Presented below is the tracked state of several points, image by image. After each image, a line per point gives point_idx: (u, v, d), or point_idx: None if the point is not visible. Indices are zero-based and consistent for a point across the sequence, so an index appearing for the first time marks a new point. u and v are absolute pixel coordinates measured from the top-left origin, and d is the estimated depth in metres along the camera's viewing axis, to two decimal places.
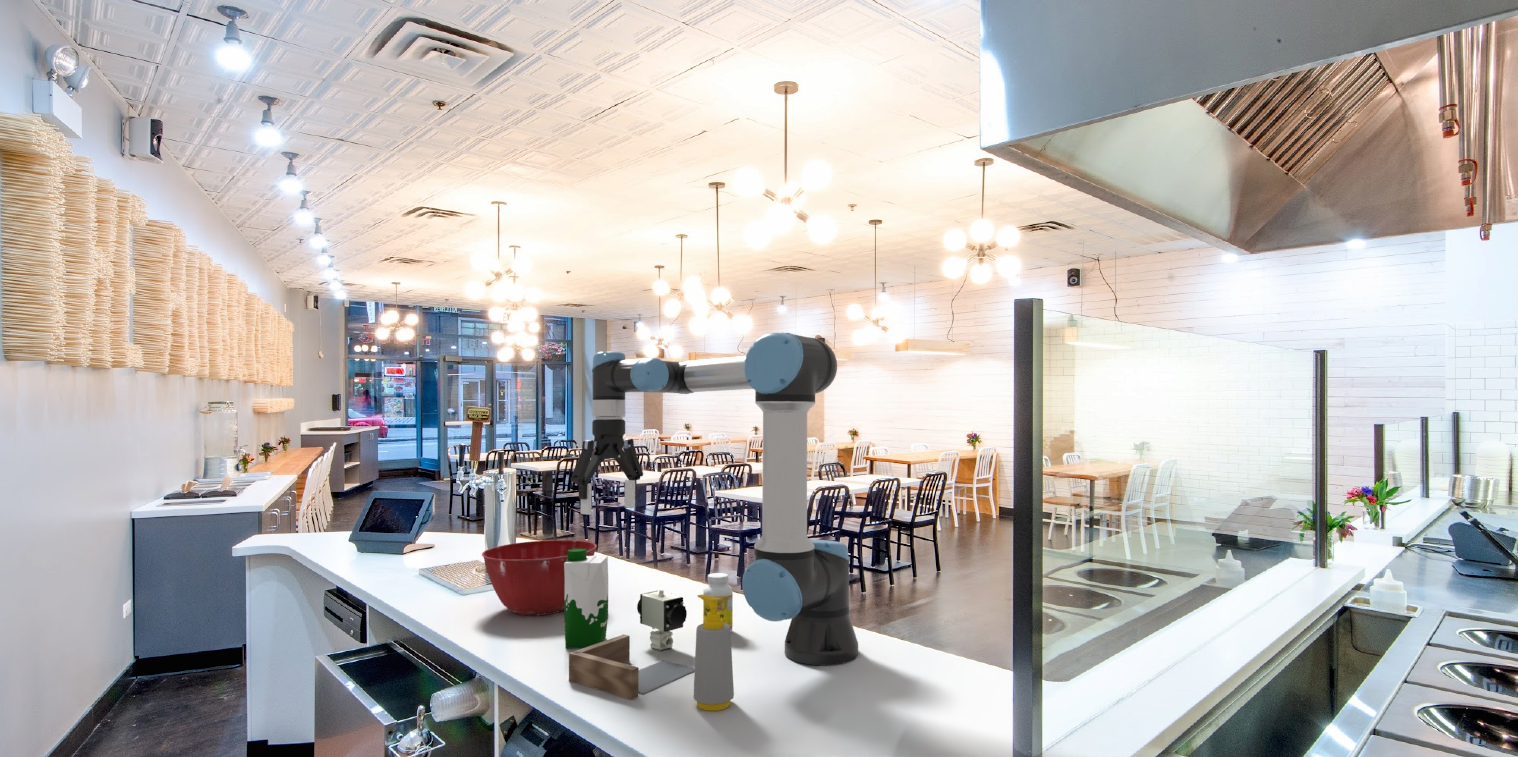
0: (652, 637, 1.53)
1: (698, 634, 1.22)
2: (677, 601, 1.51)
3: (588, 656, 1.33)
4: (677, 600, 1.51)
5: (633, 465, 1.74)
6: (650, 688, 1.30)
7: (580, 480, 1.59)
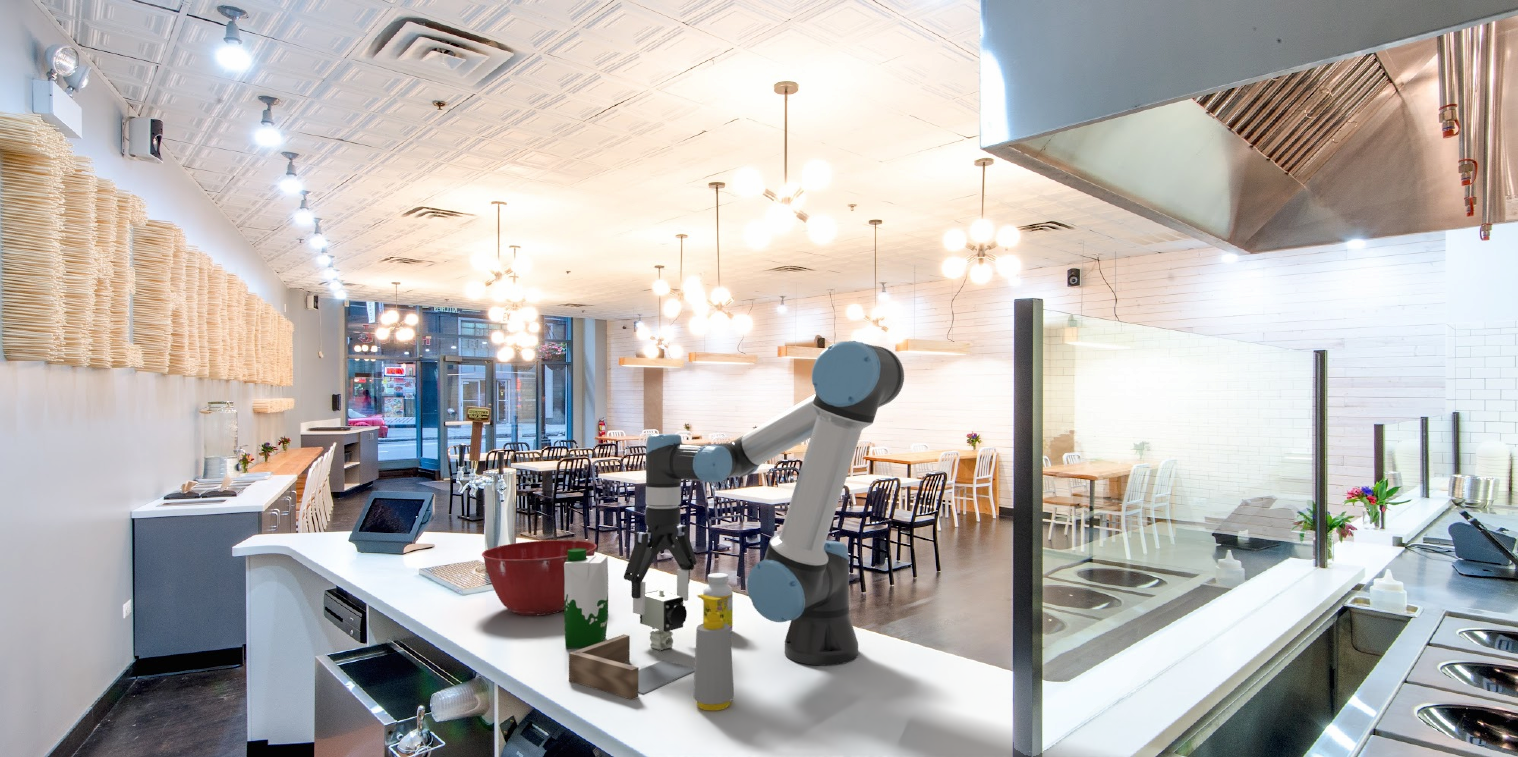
0: (652, 637, 1.53)
1: (698, 634, 1.22)
2: (677, 601, 1.51)
3: (588, 656, 1.33)
4: (677, 600, 1.51)
5: (686, 553, 1.61)
6: (650, 688, 1.30)
7: (634, 578, 1.46)
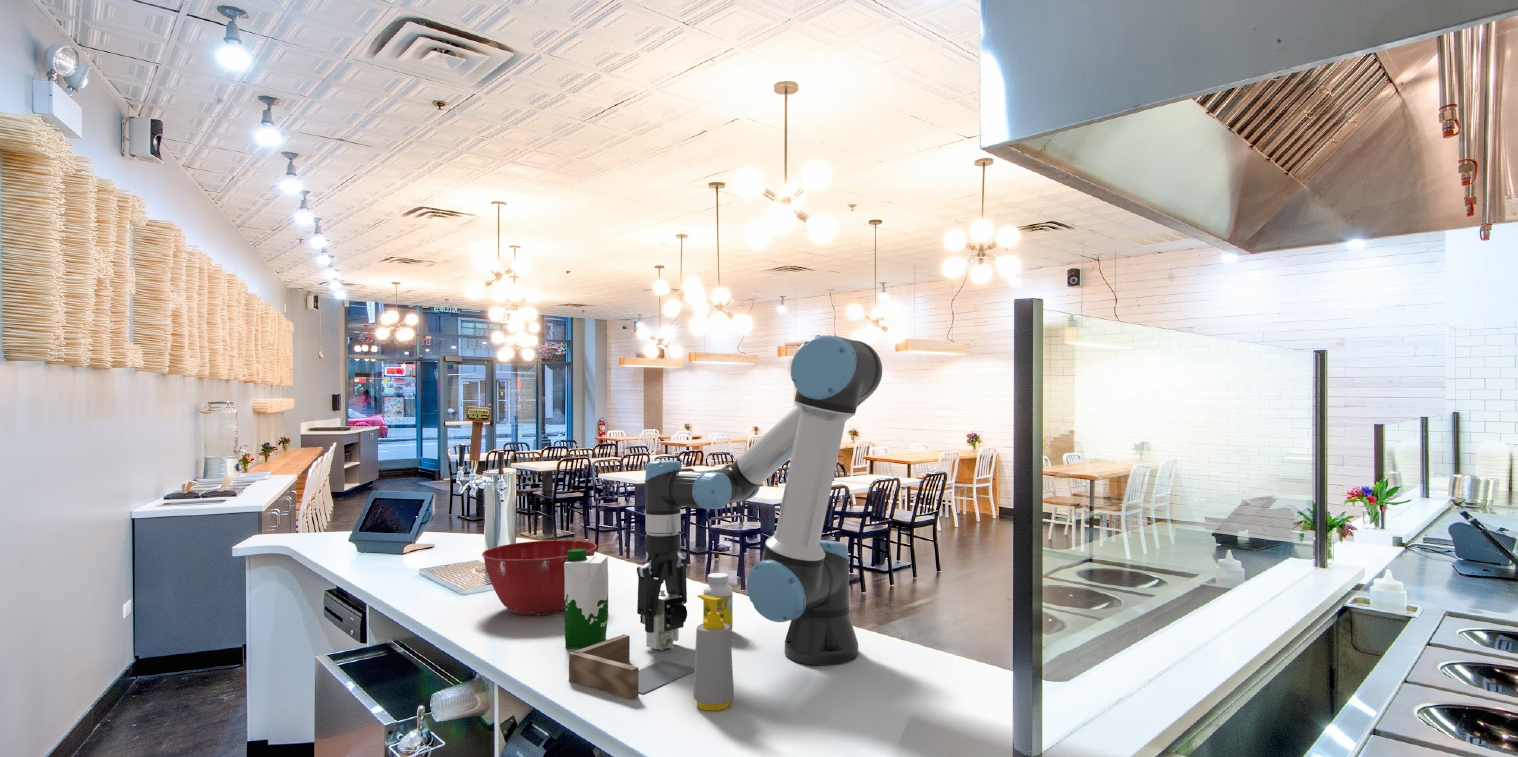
0: None
1: (698, 634, 1.22)
2: (678, 601, 1.51)
3: (588, 656, 1.33)
4: (678, 599, 1.51)
5: (679, 588, 1.58)
6: (650, 688, 1.30)
7: (648, 613, 1.48)
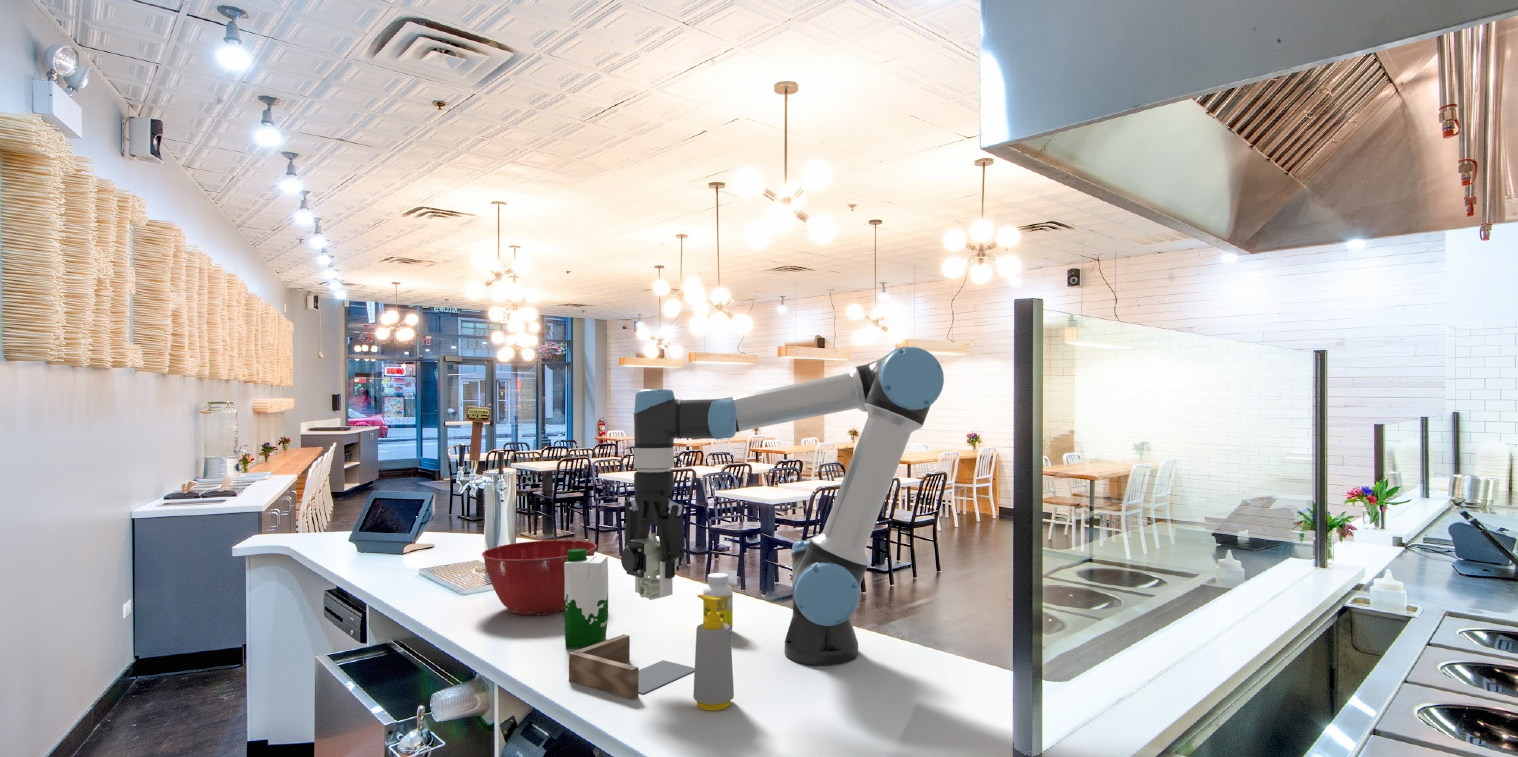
0: None
1: (698, 634, 1.22)
2: (636, 546, 1.34)
3: (588, 656, 1.33)
4: (636, 544, 1.34)
5: None
6: (650, 688, 1.30)
7: None
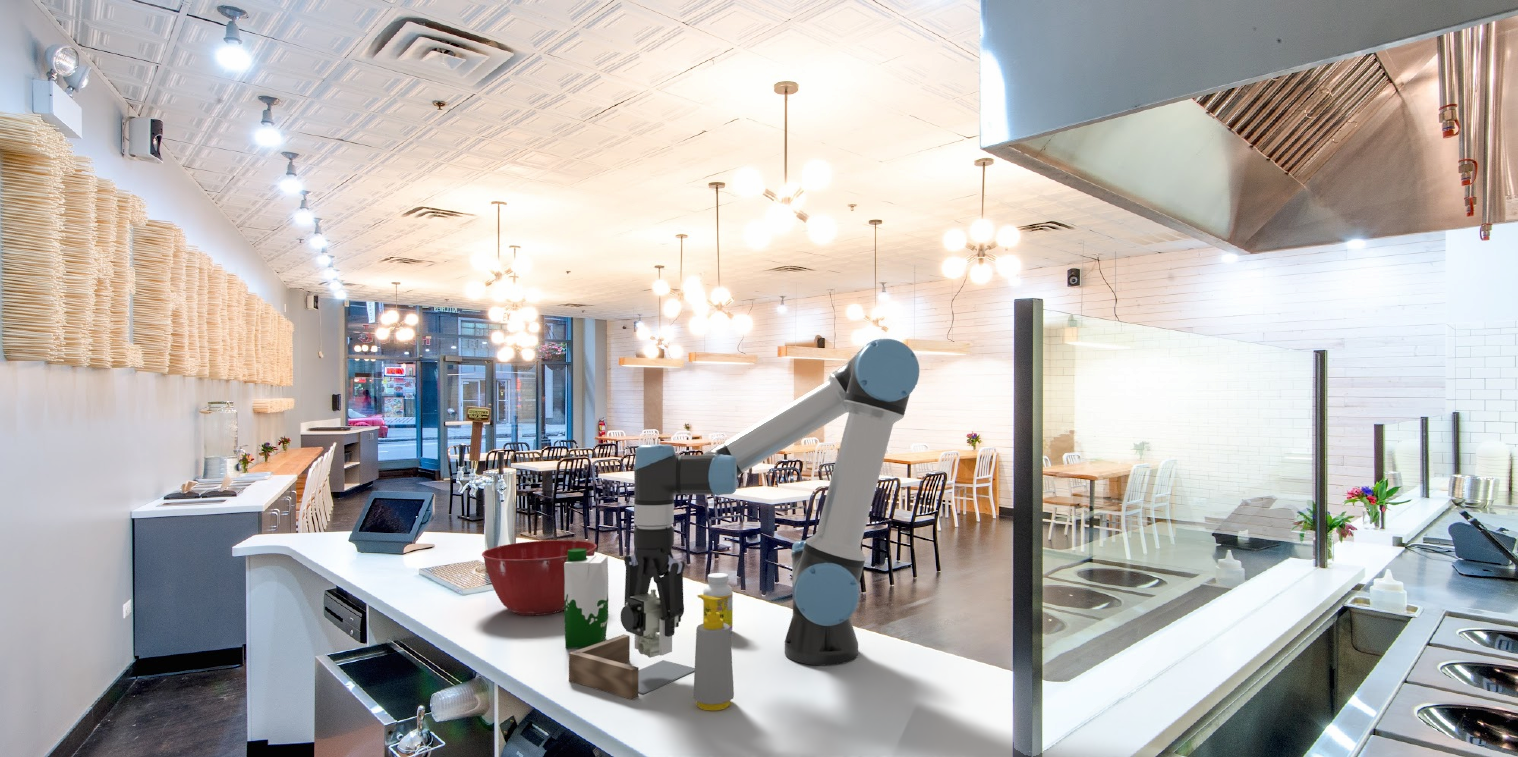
0: None
1: (698, 634, 1.22)
2: (636, 604, 1.33)
3: (588, 656, 1.33)
4: (636, 602, 1.33)
5: None
6: (650, 688, 1.30)
7: None
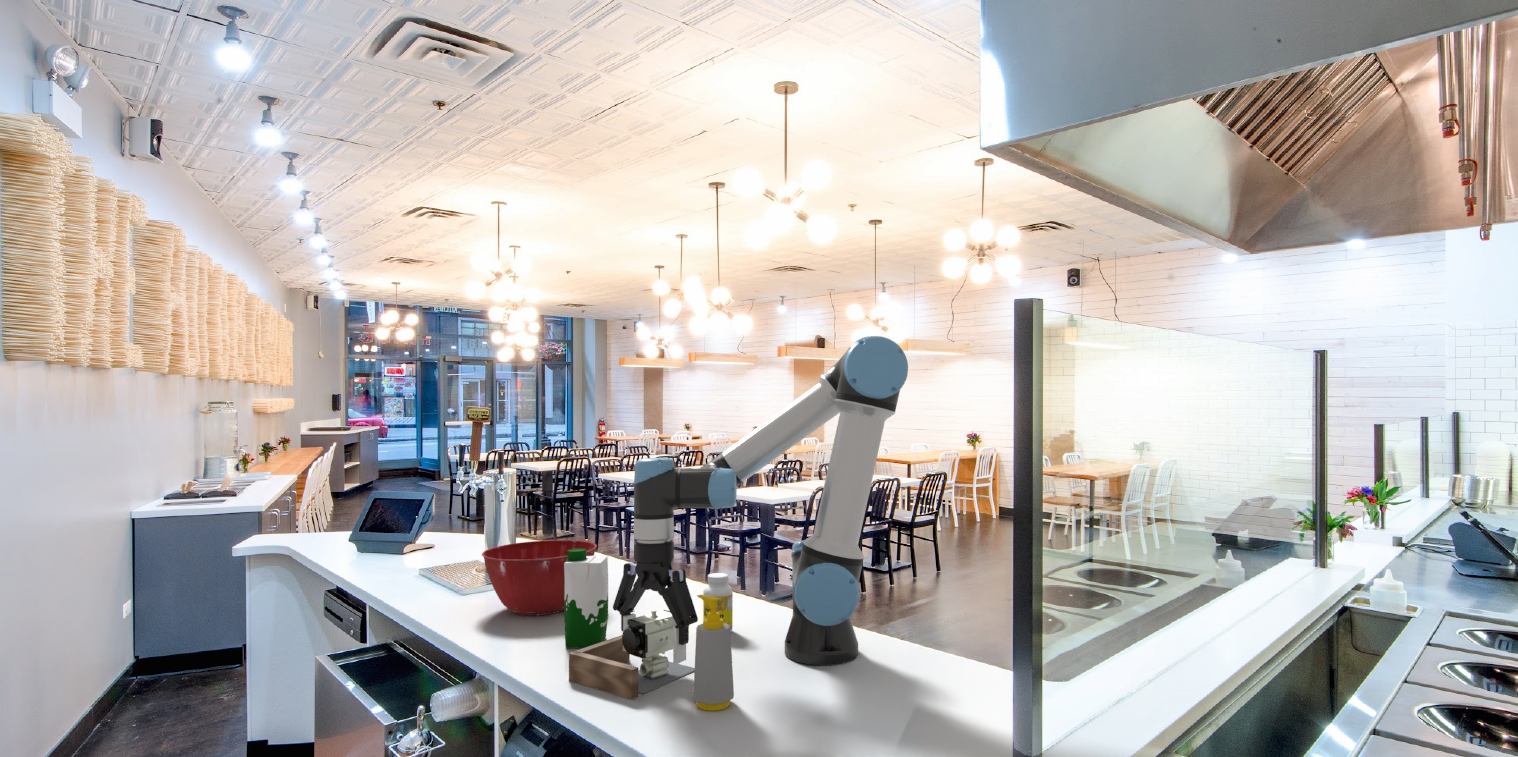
0: None
1: (698, 634, 1.22)
2: (637, 626, 1.33)
3: (588, 656, 1.33)
4: (637, 624, 1.33)
5: None
6: (650, 688, 1.30)
7: (614, 608, 1.41)
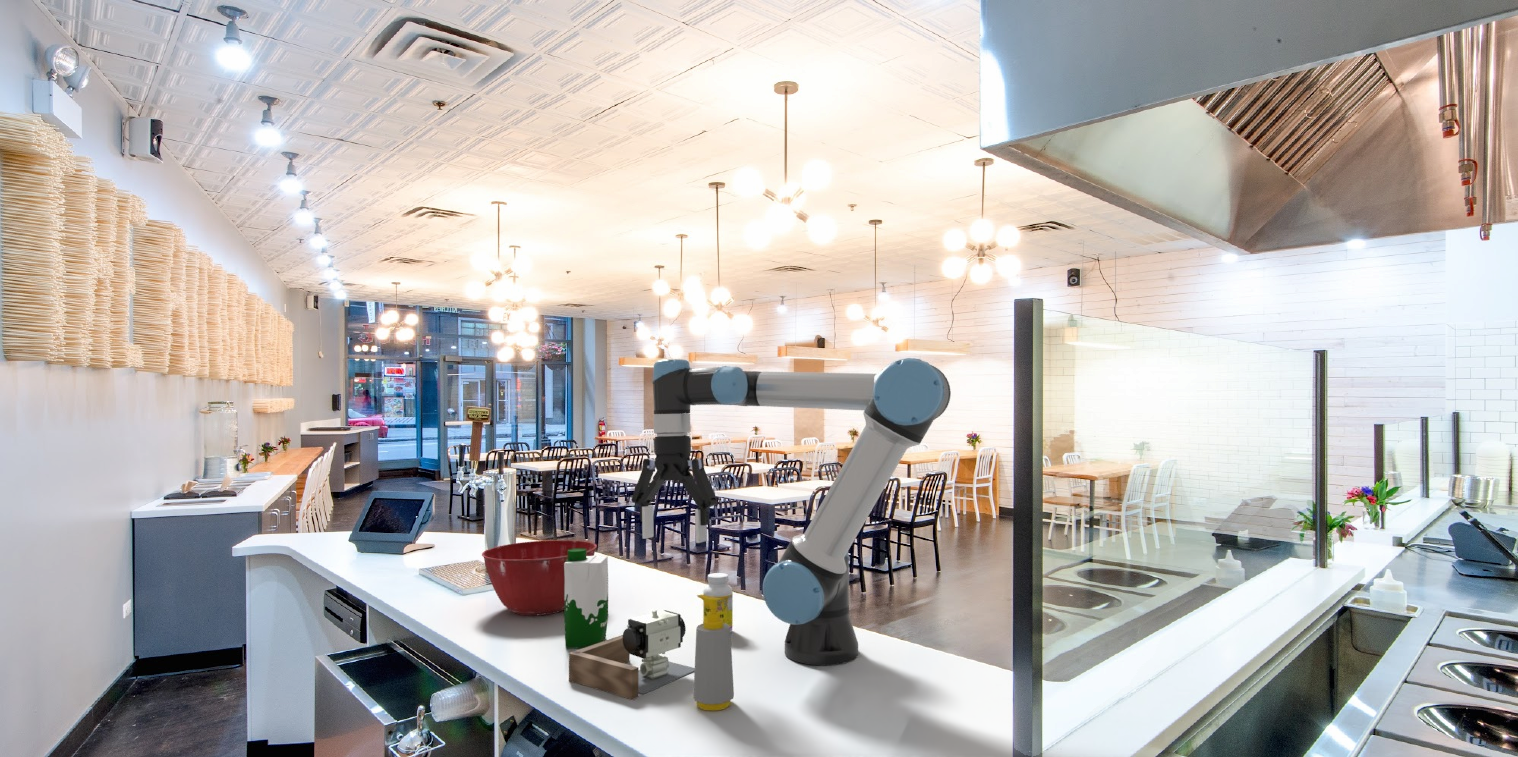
0: None
1: (698, 634, 1.22)
2: (638, 625, 1.33)
3: (588, 656, 1.33)
4: (638, 624, 1.33)
5: None
6: (650, 688, 1.30)
7: (633, 500, 1.51)
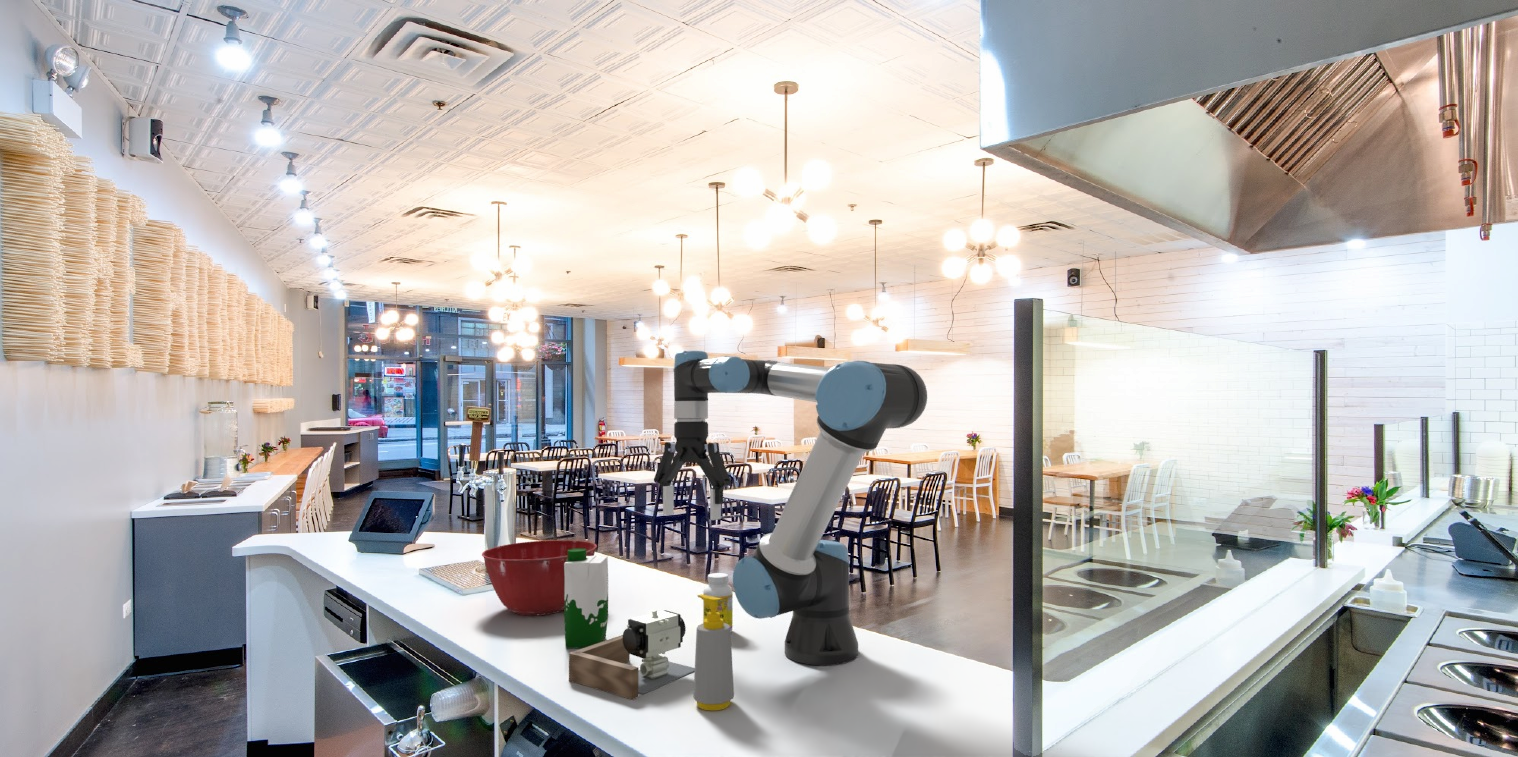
0: None
1: (698, 634, 1.22)
2: (638, 625, 1.33)
3: (588, 656, 1.33)
4: (638, 624, 1.33)
5: None
6: (650, 688, 1.30)
7: (655, 480, 1.64)
